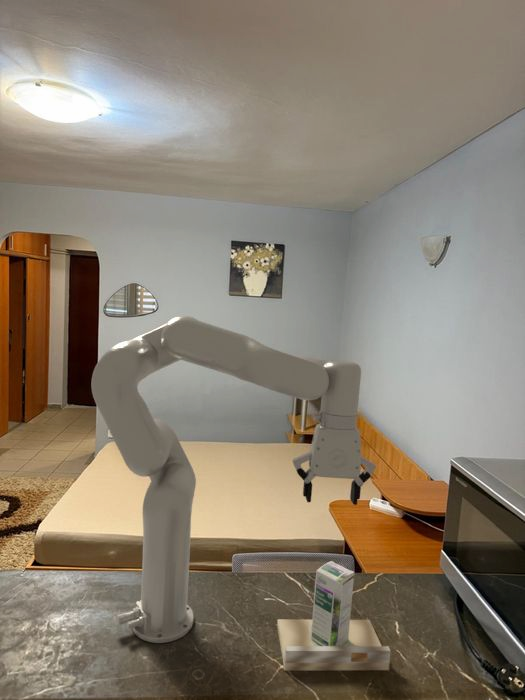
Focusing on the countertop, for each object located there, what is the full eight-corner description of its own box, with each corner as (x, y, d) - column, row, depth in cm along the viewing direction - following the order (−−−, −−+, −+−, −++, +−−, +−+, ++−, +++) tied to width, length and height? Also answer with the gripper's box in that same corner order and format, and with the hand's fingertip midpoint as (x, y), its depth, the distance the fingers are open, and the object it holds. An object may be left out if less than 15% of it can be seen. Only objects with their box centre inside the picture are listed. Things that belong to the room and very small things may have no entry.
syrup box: (309, 639, 91) (314, 569, 90) (325, 625, 95) (331, 559, 94) (333, 654, 87) (339, 582, 86) (349, 639, 92) (355, 570, 90)
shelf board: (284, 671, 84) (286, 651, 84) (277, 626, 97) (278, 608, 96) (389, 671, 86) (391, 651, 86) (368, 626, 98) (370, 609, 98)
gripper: (298, 422, 90) (291, 506, 91) (384, 428, 91) (376, 511, 92) (294, 414, 97) (287, 491, 99) (373, 419, 98) (366, 496, 99)
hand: (330, 500), depth 95 cm, fingers open, 9 cm apart
